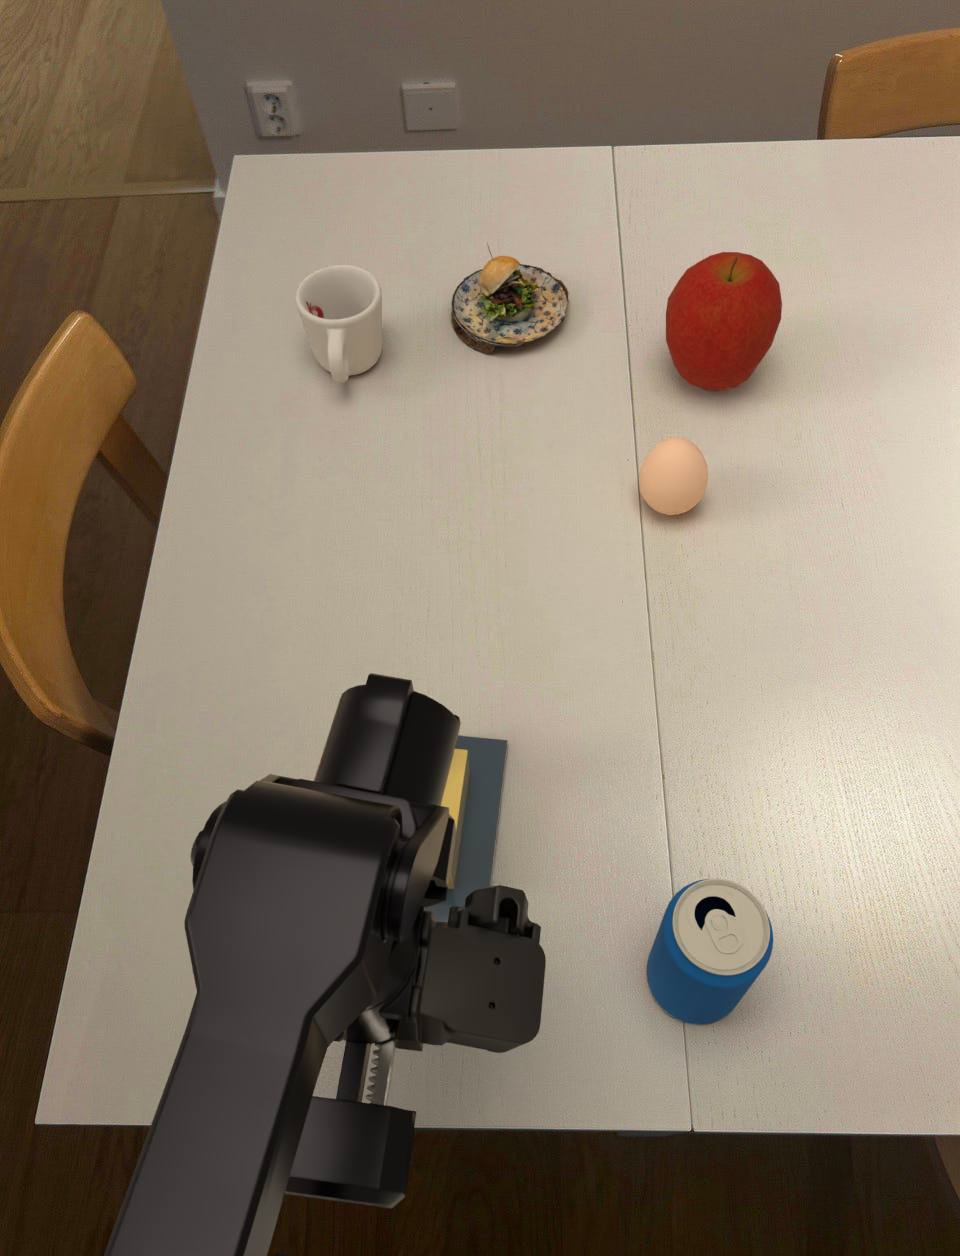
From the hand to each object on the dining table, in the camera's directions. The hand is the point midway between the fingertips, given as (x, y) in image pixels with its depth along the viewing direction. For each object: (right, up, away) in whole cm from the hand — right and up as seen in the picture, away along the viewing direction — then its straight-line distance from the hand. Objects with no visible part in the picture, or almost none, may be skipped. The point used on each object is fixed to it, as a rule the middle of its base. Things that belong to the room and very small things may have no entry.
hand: (388, 1022), depth 59 cm
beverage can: (+20, -2, +13) cm, 23 cm away
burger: (+8, +54, +48) cm, 72 cm away
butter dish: (+1, +7, +18) cm, 20 cm away
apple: (+27, +46, +42) cm, 68 cm away
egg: (+22, +33, +34) cm, 52 cm away
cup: (-8, +48, +45) cm, 66 cm away
